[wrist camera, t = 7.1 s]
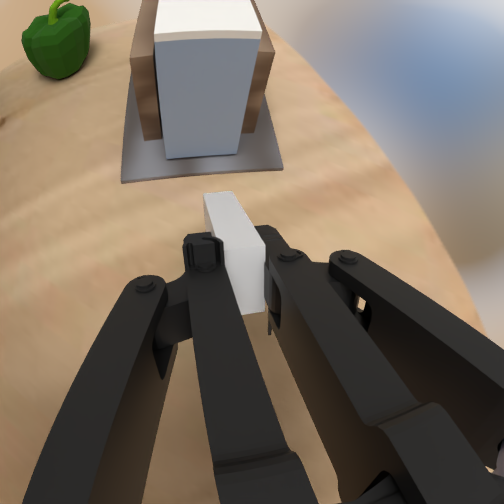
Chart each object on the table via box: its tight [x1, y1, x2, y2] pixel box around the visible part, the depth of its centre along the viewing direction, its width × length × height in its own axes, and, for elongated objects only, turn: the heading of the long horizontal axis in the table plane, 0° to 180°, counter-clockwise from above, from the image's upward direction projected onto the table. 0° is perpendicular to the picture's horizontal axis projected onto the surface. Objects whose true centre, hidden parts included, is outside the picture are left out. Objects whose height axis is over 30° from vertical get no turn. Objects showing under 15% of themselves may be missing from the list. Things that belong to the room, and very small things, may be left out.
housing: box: [121, 0, 284, 184], centre depth 24 cm, size 14×18×10 cm
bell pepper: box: [22, 0, 90, 79], centre depth 24 cm, size 8×8×10 cm
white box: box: [154, 0, 262, 159], centre depth 21 cm, size 6×10×13 cm, turn 9°
